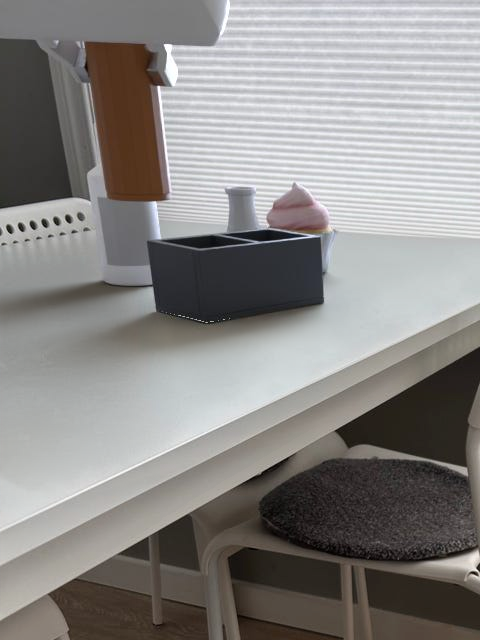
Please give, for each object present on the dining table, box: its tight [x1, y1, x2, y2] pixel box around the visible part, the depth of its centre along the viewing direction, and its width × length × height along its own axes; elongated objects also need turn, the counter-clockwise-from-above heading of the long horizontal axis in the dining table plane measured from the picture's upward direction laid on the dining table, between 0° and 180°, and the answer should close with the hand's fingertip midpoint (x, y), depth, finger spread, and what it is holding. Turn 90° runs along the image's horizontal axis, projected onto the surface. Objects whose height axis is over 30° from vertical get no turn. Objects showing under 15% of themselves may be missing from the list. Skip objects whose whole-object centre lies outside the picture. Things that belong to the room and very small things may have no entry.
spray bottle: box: [86, 99, 162, 287], centre depth 104 cm, size 7×7×18 cm
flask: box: [224, 186, 261, 232], centre depth 107 cm, size 7×7×10 cm
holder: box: [147, 227, 325, 325], centre depth 97 cm, size 8×15×7 cm, turn 141°
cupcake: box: [262, 181, 340, 273], centre depth 115 cm, size 9×9×10 cm
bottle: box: [83, 42, 173, 202], centre depth 73 cm, size 5×5×15 cm
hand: (127, 78), depth 73 cm, fingers closed on bottle, 5 cm apart
